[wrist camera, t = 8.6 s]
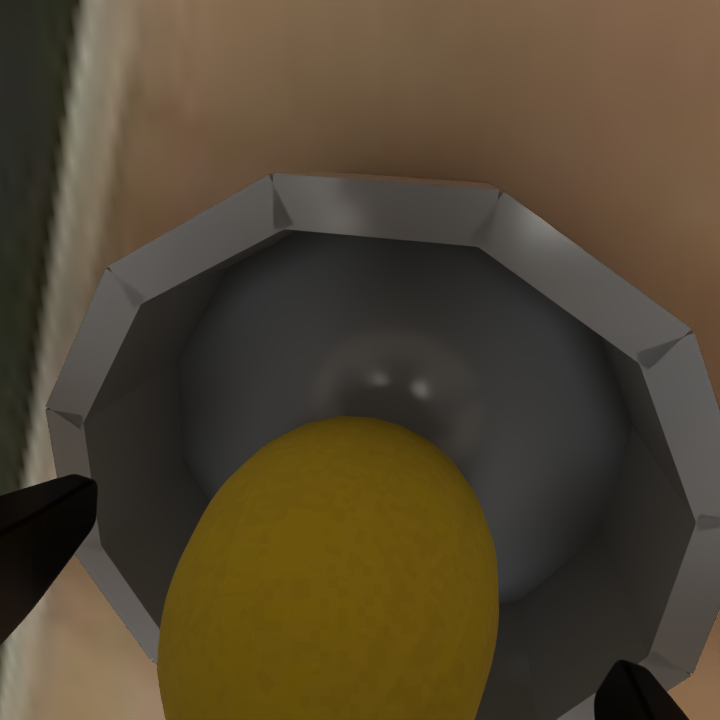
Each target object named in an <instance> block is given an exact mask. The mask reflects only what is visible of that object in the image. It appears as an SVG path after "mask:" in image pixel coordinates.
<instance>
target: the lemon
mask: <svg viewBox="0 0 720 720" xmlns="http://www.w3.org/2000/svg"><path fill="white" fill-rule="evenodd" d="M498 621H499V595H498V572H497V558H496V552H495V547H494V543H493V539H492V536H491V532H490V530H489V527H488V524H487V521H486V519H485V516H484V513H483V511H482V508H481V505H480V502H479V500H478V498H477V496H476V494H475V492H474V490H473V489H472V488H471V486H470V485H469V483H468V482H467V481H466V479H465V478H464V476H463V475H462V473H461V472H460V471H459V469H458V468H457V466H456V465H455V464H454V462H453V461H452V460H451V459H450V458H449V457H448V456H446V455H445V454H444V453H443V452H442V451H441V450H440V449H438V448H437V447H436V446H435V445H434V444H433V443H432V442H430V441H429V440H428V439H426V438H424V437H422V436H420V435H418V434H416V433H415V432H413V431H411V430H409V429H407V428H405V427H403V426H401V425H398V424H394V423H391V422H387V421H384V420H380V419H377V418H373V417H356V416H338V417H333V418H328V419H323V420H318V421H313V422H309V423H306V424H304V425H302V426H300V427H298V428H296V429H294V430H292V431H290V432H288V433H286V434H284V435H282V436H280V437H278V438H276V439H274V440H272V441H270V442H269V443H267V444H266V445H265V446H263V447H262V448H261V449H259V450H258V451H257V452H256V453H255V454H254V455H253V456H252V457H251V458H250V459H249V460H247V461H246V462H245V463H244V464H243V465H242V466H241V467H240V468H239V469H238V470H237V471H236V472H235V473H234V474H233V475H231V476H230V477H229V479H228V480H227V481H226V482H225V483H224V484H223V485H222V486H221V488H220V489H219V490H218V492H217V493H216V494H215V496H214V497H213V499H212V500H211V501H210V503H209V505H208V507H207V508H206V510H205V512H204V513H203V515H202V517H201V519H200V521H199V523H198V524H197V526H196V528H195V530H194V532H193V534H192V536H191V538H190V540H189V542H188V544H187V546H186V548H185V550H184V552H183V554H182V556H181V558H180V560H179V563H178V565H177V568H176V570H175V573H174V575H173V578H172V581H171V584H170V587H169V590H168V593H167V596H166V600H165V605H164V609H163V614H162V619H161V626H160V634H159V642H158V656H157V673H158V680H159V687H160V693H161V699H162V704H163V709H164V715H165V718H166V720H474V719H475V716H476V714H477V710H478V707H479V704H480V701H481V698H482V695H483V692H484V688H485V685H486V682H487V678H488V675H489V671H490V668H491V665H492V660H493V655H494V651H495V646H496V639H497V632H498Z"/></svg>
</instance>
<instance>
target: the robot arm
mask: <svg viewBox="0 0 720 720" xmlns="http://www.w3.org/2000/svg"><path fill="white" fill-rule="evenodd" d="M97 498H98V485H97V482H96V481H95V480H93V479H90V478H87V477H84V476H81V475H78V474H70V475H66V476H63V477H60V478H57V479H54V480H50V481H47V482H44V483H41V484H37V485H34V486H31V487H28V488H24V489H21V490H18V491H15V492H12V493H8V494H5V495H2V496H0V645H1V644H2V643H3V642H4V641H5V640H6V639H7V638H8V637H9V635H10V634H11V633H12V632H13V631H14V630H15V629H16V628H17V626H18V625H19V624H20V623H21V622H22V621H23V620H24V619H25V617H26V616H27V615H28V614H29V613H30V612H31V610H32V609H33V608H34V607H35V605H36V604H37V603H38V602H39V600H40V599H41V598H42V596H43V595H44V594H45V592H46V591H47V590H48V588H49V587H50V586H51V584H52V583H53V582H54V580H55V579H56V578H57V576H58V575H59V574H60V572H61V571H62V570H63V568H64V567H65V565H66V564H67V563H68V561H69V560H70V559H71V557H72V556H73V555H74V553H75V552H76V551H77V549H78V548H79V547H80V545H81V544H82V543H83V541H84V540H85V538H86V537H87V536H88V534H89V533H90V532H91V530H92V528H93V526H94V524H95V521H96V516H97ZM594 718H595V720H689V719H688V717H687V716H686V715H685V714H684V712H683V711H682V710H681V709H680V708H679V706H678V705H677V704H676V703H675V701H674V700H673V699H672V698H671V696H670V695H669V694H668V693H667V691H666V690H665V689H664V688H663V687H662V685H661V684H660V683H659V682H658V680H657V679H656V678H655V677H654V675H653V674H652V673H651V672H650V671H649V670H648V669H647V668H645V667H643V666H641V665H638V664H635V663H632V662H629V661H626V660H622V659H620V660H617V661H616V662H615V663H614V664H613V666H612V667H611V669H610V671H609V672H608V674H607V675H606V677H605V679H604V680H603V682H602V683H601V685H600V687H599V688H598V690H597V692H596V695H595V699H594Z"/></svg>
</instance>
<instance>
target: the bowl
mask: <svg viewBox="0 0 720 720" xmlns="http://www.w3.org/2000/svg"><path fill="white" fill-rule="evenodd" d="M46 407H48V408H47V409H46V415H47V421H48V427H49V432H50V438H51V444H52V450H53V456H54V462H55V468H56V473H57V478H60V477H63V476H66V475H70V474H78V475H81V476H84V477H87V478H90V479H93V480H95V481H96V482H97V485H98V498H97V516H96V521H95V524H94V526H93V528H92V530H91V532H90V533H89V534H88V536H87V537H86V538H85V540H84V541H83V543H82V544H81V545H80V547H79V548H78V549H77V551H76V552H75V553H74V554H75V556H76V557H77V558H78V560H79V561H80V563H81V564H82V565H83V567H84V568H85V570H86V571H87V572H88V574H89V575H90V577H91V578H92V579H93V581H94V582H95V584H96V585H97V586H98V588H99V589H100V591H101V592H102V593H103V595H104V596H105V597H106V599H107V600H108V602H109V603H110V604H111V606H112V607H113V609H114V610H115V611H116V613H117V614H118V616H119V617H120V618H121V620H122V621H123V623H124V624H125V625H126V627H127V628H128V630H129V631H130V632H131V634H132V635H133V637H134V638H135V639H136V641H137V642H138V644H139V645H140V646H141V648H142V649H143V651H144V652H145V653H146V655H147V656H148V658H149V659H153V658H154V659H153V661H152V662H154V663H155V664H157V656H158V642H159V634H160V626H161V619H162V614H163V609H164V605H165V600H166V596H167V593H168V590H169V587H170V584H171V581H172V578H173V575H174V573H175V570H176V568H177V565H178V563H179V560H180V558H181V556H182V554H183V552H184V550H185V548H186V546H187V544H188V542H189V540H190V538H191V536H192V534H193V532H194V530H195V528H196V526H197V524H198V523H199V521H200V519H201V517H202V515H203V513H204V512H205V510H206V508H207V507H208V505H209V503H210V501H211V500H212V499H213V497H214V496H215V494H216V493H217V492H218V490H219V489H220V488H221V486H222V485H223V484H224V483H225V482H226V481H227V480H228V479H229V477H230V476H231V475H233V474H234V473H235V472H236V471H237V470H238V469H239V468H240V467H241V466H242V465H243V464H244V463H245V462H246V461H247V460H249V459H250V458H251V457H252V456H253V455H254V454H255V453H256V452H257V451H258V450H259V449H261V448H262V447H263V446H265V445H266V444H267V443H269V442H270V441H272V440H274V439H276V438H278V437H280V436H282V435H284V434H286V433H288V432H290V431H292V430H294V429H296V428H298V427H300V426H302V425H304V424H306V423H309V422H313V421H318V420H323V419H328V418H333V417H338V416H356V417H373V418H377V419H380V420H384V421H387V422H391V423H394V424H398V425H401V426H403V427H405V428H407V429H409V430H411V431H413V432H415V433H416V434H418V435H420V436H422V437H424V438H426V439H428V440H429V441H430V442H432V443H433V444H434V445H435V446H436V447H437V448H438V449H440V450H441V451H442V452H443V453H444V454H445V455H446V456H448V457H449V458H450V459H451V460H452V461H453V462H454V464H455V465H456V466H457V468H458V469H459V471H460V472H461V473H462V475H463V476H464V478H465V479H466V481H467V482H468V483H469V485H470V486H471V488H472V489H473V490H474V492H475V494H476V496H477V498H478V500H479V502H480V505H481V508H482V511H483V513H484V516H485V519H486V521H487V524H488V527H489V530H490V532H491V536H492V539H493V543H494V547H495V552H496V558H497V572H498V595H499V621H498V632H497V639H496V646H495V651H494V655H493V660H492V665H491V668H490V671H489V675H488V678H487V682H486V685H485V688H484V692H483V695H482V698H481V701H480V704H479V707H478V710H477V714H476V716H475V719H474V720H595V718H594V699H595V695H596V692H597V690H598V688H599V687H600V685H601V683H602V682H603V680H604V679H605V677H606V675H607V674H608V672H609V671H610V669H611V667H612V666H613V664H614V663H615V662H616V661H617V660H620V659H622V660H626V661H629V662H632V663H635V664H638V665H641V666H643V667H645V668H647V669H648V670H649V671H650V672H651V673H652V674H653V675H654V677H655V678H656V679H657V680H658V682H659V683H660V684H661V685H662V687H663V688H664V689H665V690H666V691H668V690H670V689H671V688H673V687H674V686H676V685H677V684H679V683H681V682H682V681H684V680H685V679H687V678H688V677H690V676H691V675H690V673H693V672H694V670H695V667H696V665H697V663H698V660H699V658H700V655H701V653H702V650H703V648H704V645H705V643H706V641H707V638H708V636H709V633H710V631H711V628H712V626H713V623H714V621H715V619H716V616H717V614H718V611H719V609H720V410H719V407H718V404H717V401H716V398H715V394H714V391H713V388H712V385H711V382H710V379H709V376H708V373H707V370H706V367H705V364H704V361H703V357H702V354H701V351H700V348H699V345H698V342H697V339H696V336H695V333H694V332H693V331H691V328H690V327H688V326H687V325H686V324H684V323H683V322H682V321H680V320H679V319H678V318H676V317H675V316H673V315H672V314H671V313H669V312H668V311H667V310H665V309H664V308H663V307H661V306H660V305H658V304H657V303H656V302H654V301H653V300H652V299H650V298H649V297H647V296H646V295H645V294H643V293H642V292H641V291H639V290H638V289H637V288H635V287H634V286H632V285H631V284H630V283H628V282H627V281H626V280H624V279H623V278H622V277H620V276H619V275H617V274H616V273H615V272H613V271H612V270H611V269H609V268H608V267H607V266H605V265H604V264H602V263H601V262H600V261H598V260H597V259H596V258H594V257H593V256H591V255H590V254H589V253H587V252H586V251H585V250H583V249H582V248H581V247H579V246H578V245H576V244H575V243H574V242H572V241H571V240H570V239H568V238H567V237H566V236H564V235H563V234H561V233H560V232H559V231H557V230H556V229H555V228H553V227H552V226H551V225H549V224H548V223H546V222H545V221H544V220H542V219H541V218H540V217H538V216H537V215H535V214H534V213H533V212H531V211H530V210H529V209H527V208H526V207H525V206H523V205H522V204H520V203H519V202H518V201H516V200H515V199H514V198H512V197H511V196H510V195H508V194H507V193H505V192H504V191H502V190H501V189H499V188H497V187H495V186H493V185H492V184H489V183H484V182H470V181H456V180H442V179H428V178H414V177H400V176H386V175H372V174H357V173H343V172H329V173H273V174H268V175H266V176H265V177H263V178H261V179H259V180H258V181H256V182H254V183H252V184H251V185H249V186H247V187H245V188H244V189H242V190H240V191H238V192H237V193H235V194H233V195H231V196H230V197H228V198H226V199H224V200H223V201H221V202H219V203H217V204H216V205H214V206H212V207H210V208H209V209H207V210H205V211H203V212H202V213H200V214H198V215H196V216H195V217H193V218H191V219H189V220H188V221H186V222H184V223H182V224H181V225H179V226H177V227H175V228H174V229H172V230H170V231H168V232H166V233H165V234H163V235H161V236H159V237H158V238H156V239H154V240H152V241H151V242H149V243H147V244H145V245H144V246H142V247H140V248H138V249H137V250H135V251H133V252H131V253H130V254H128V255H126V256H124V257H123V258H121V259H119V260H117V261H116V262H114V263H112V264H110V265H109V268H106V269H105V271H104V274H103V276H102V278H101V281H100V283H99V285H98V287H97V290H96V292H95V294H94V297H93V299H92V301H91V304H90V306H89V308H88V310H87V313H86V315H85V317H84V320H83V322H82V324H81V327H80V329H79V331H78V333H77V336H76V338H75V340H74V343H73V345H72V347H71V349H70V352H69V354H68V356H67V359H66V361H65V363H64V366H63V368H62V370H61V372H60V375H59V377H58V379H57V382H56V384H55V386H54V389H53V391H52V393H51V395H50V398H49V400H48V402H47V405H46Z"/></svg>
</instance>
